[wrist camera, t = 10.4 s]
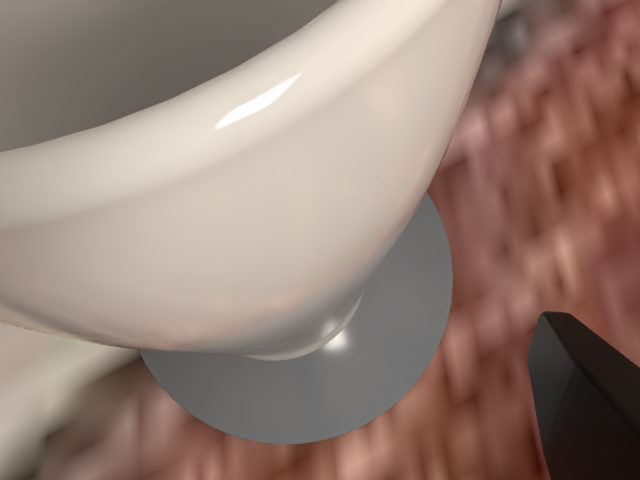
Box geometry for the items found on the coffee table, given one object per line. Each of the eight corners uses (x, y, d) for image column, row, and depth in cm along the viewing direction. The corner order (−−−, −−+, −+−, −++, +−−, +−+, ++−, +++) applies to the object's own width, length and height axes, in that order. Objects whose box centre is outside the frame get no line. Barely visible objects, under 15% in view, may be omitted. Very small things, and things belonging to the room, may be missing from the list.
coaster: (334, 514, 17) (335, 517, 16) (60, 318, 18) (56, 317, 18) (510, 229, 18) (513, 226, 18) (249, 68, 20) (248, 63, 19)
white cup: (174, 405, 17) (-931, 376, 2) (158, 185, 19) (-491, -595, 4) (410, 369, 17) (826, 103, 2) (369, 153, 19) (453, -738, 4)
